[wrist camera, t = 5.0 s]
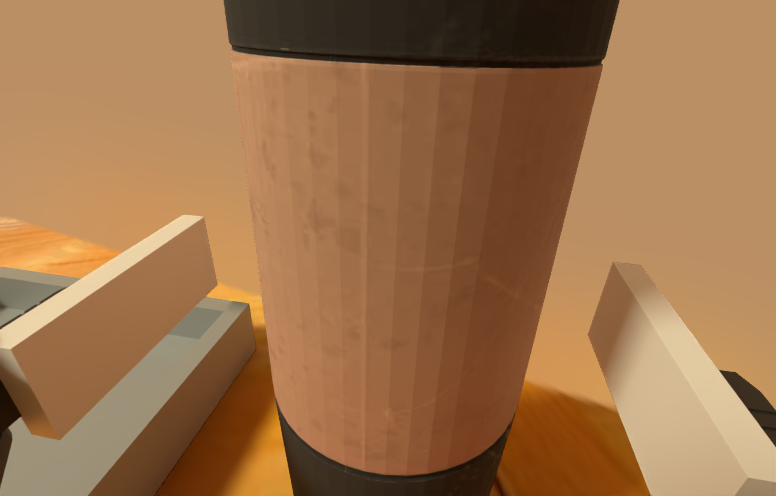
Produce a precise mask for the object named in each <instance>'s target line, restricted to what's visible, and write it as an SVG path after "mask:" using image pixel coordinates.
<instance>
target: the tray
mask: <svg viewBox="0 0 776 496" xmlns="http://www.w3.org/2000/svg"><path fill="white" fill-rule="evenodd" d="M78 280H80V278H73V277H66V276H60V275H53V274H46V273H39V272H33V271H26V270H19V269H12V268H6V267H0V326H2V325H3V324H5V323H6V322H8V321H10V320H11V319H13V318H15V317H16V316H18V315H19V314H24V311H26V310H27V309H29V308H31V307H32V306H34V305H36V304H37V305H39V303H40V301H42V300H44V299H45V298H47V297H48V296H50V295H52V294H53V293H55V292H56V291H58V290H60V289H63V288H65V287H68V286H70V285H72V284H74V283H75V282H77V281H78ZM255 350H256V344H255V338H254V331H253V325H252V319H251V313H250V306H249V304H248V303H242V302H235V301H228V300H222V299H215V298H208V297H204V298H203V299H202V300H201V301H200V302H199V303H198V304H197V305H196V306H195V307H194V308H193V309H192V310H191V311H190V312H189V313H188V314H187V315H186V316H185V317H184V318H183V319H182V320H181V321H180V322H179V323H178V324H177V325H176V326H175V327H174V328H173V329H172V330H171V331H170V332H169V333H168V334H167V335H166V336H165V337H164V338H163V339H162V340H161V341H160V342H159V343H158V344H157V345H156V346H155V347H154V348H153V349H152V350H151V351H150V352H149V353H148V354H147V355H146V356H145V357H144V358H143V359H142V360H141V361H140V362H139V363H138V364H137V365H136V366H135V367H134V368H133V369H132V370H131V371H130V372H129V373H128V374H127V375H126V376H124V377H123V378H122V379H121V380H120V381H119V382H118V383H117V384H116V385H115V386H114V387H113V388H112V389H111V390H110V391H109V392H108V393H107V394H106V395H105V396H104V397H103V398H102V399H101V400H100V401H99V402H98V403H97V404H96V405H95V406H94V407H93V408H92V409H91V410H90V411H89V412H88V413H87V414H86V415H85V416H84V417H83V418H82V419H81V420H80V421H79V422H78V423H77V424H76V425H75V426H74V427H73V428H72V429H71V430H70V431H69V432H68V433H67V434H66V435H65V436H64V437H63V438H62V439H61V440H56V439H51V438H46V437H41V436H36V435H31V433H30V431H29V430H28V428H27V426H26V425H25V423H24V421H23V420H22V418H21V417H20V418H19V419H18V420H17V421H15V422H14V423H13V424H12V425H11V426H9V427H8V428H9V429H10V431H11V432H12V440H13V441H12V445H11V448H10V452H9V456H8V460H7V464H6V468H5V471H4V475H3V479H2V483H1V487H0V496H154V495H155V493H156V492H157V490H158V489H159V488H160V486H161V485H162V483H163V482H164V480H165V479H166V478H167V476H168V475H169V473H170V472H171V470H172V469H173V467H174V466H175V465H176V463H177V462H178V460H179V459H180V457H181V456H182V455H183V453H184V452H185V450H186V449H187V447H188V446H189V445H190V443H191V442H192V440H193V439H194V437H195V436H196V434H197V433H198V432H199V430H200V429H201V427H202V426H203V424H204V423H205V422H206V420H207V419H208V417H209V416H210V414H211V413H212V411H213V410H214V409H215V407H216V406H217V404H218V403H219V401H220V400H221V399H222V397H223V396H224V394H225V393H226V391H227V390H228V389H229V387H230V386H231V384H232V383H233V381H234V380H235V378H236V377H237V376H238V374H239V373H240V371H241V370H242V368H243V367H244V366H245V364H246V363H247V361H248V360H249V358H250V357H251V356H252V354H253V353H254V351H255Z"/></svg>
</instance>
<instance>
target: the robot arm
mask: <svg viewBox="0 0 776 496" xmlns="http://www.w3.org/2000/svg"><path fill="white" fill-rule="evenodd" d="M217 285H218V284H217V279H216V274H215V270H214V265H213V260H212V255H211V250H210V245H209V240H208V235H207V230H206V225H205V220H204V217H199V216H191V215H182V216H181V217H179V218H177V219H176V220H174V221H173V222H171V223H169V224H168V225H166V226H165V227H163V228H161V229H160V230H158V231H157V232H155V233H153V234H152V235H150V236H149V237H147V238H145V239H144V240H142V241H141V242H139V243H137V244H136V245H134V246H133V247H131V248H130V249H128V250H126V251H125V252H123V253H121V254H120V255H118V256H117V257H115V258H113V259H112V260H110V261H109V262H107V263H106V264H104V265H102V266H101V267H99V268H98V269H96V270H94V271H93V272H91V273H90V274H88V275H86V276H85V277H83V278H82V279H80V280H78V281H77V282H75V283H74V284H72V285H70V286H68V287H65V288H63V289H60V290H58V291H56V292H55V293H53V294H52V295H50V296H48V297H47V298H45V299H44V300H42V301H40V303H39V305H37V304H36V305H34V306H32V307H31V308H29V309H27V310H26V311H24V314H19V315H18V316H16V317H15V318H13V319H11V320H10V321H8V322H6V323H5V324H3V325H2V326H0V487H1V483H2V479H3V475H4V471H5V468H6V464H7V460H8V456H9V452H10V448H11V445H12V441H13V440H12V432H11V431H10V429H9V428H8V427H9V426H11V425H12V424H13V423H14V422H15V421H17V420H18V419H19V418H20V417H21V418H22V420H23V421H24V423H25V425H26V426H27V428H28V430H29V431H30V433H31V435H36V436H41V437H46V438H51V439H56V440H61V439H62V438H63V437H64V436H65V435H66V434H67V433H68V432H69V431H70V430H71V429H72V428H73V427H74V426H75V425H76V424H77V423H78V422H79V421H80V420H81V419H82V418H83V417H84V416H85V415H86V414H87V413H88V412H89V411H90V410H91V409H92V408H93V407H94V406H95V405H96V404H97V403H98V402H99V401H100V400H101V399H102V398H103V397H104V396H105V395H106V394H107V393H108V392H109V391H110V390H111V389H112V388H113V387H114V386H115V385H116V384H117V383H118V382H119V381H120V380H121V379H122V378H123V377H124V376H126V375H127V374H128V373H129V372H130V371H131V370H132V369H133V368H134V367H135V366H136V365H137V364H138V363H139V362H140V361H141V360H142V359H143V358H144V357H145V356H146V355H147V354H148V353H149V352H150V351H151V350H152V349H153V348H154V347H155V346H156V345H157V344H158V343H159V342H160V341H161V340H162V339H163V338H164V337H165V336H166V335H167V334H168V333H169V332H170V331H171V330H172V329H173V328H174V327H175V326H176V325H177V324H178V323H179V322H180V321H181V320H182V319H183V318H184V317H185V316H186V315H187V314H188V313H189V312H190V311H191V310H192V309H193V308H194V307H195V306H196V305H197V304H198V303H199V302H200V301H201V300H202V299H203V298H204V297H205V296H206V295H207V294H208V293H210V292H211V291H212V290H213V289H214V288H215V287H216V286H217ZM588 336H589V339H590V341H591V344H592V346H593V349H594V352H595V354H596V356H597V359H598V362H599V364H600V367H601V369H602V372H603V375H604V377H605V379H606V382H607V385H608V387H609V390H610V392H611V395H612V398H613V400H614V403H615V405H616V408H617V410H618V413H619V415H620V418H621V421H622V423H623V426H624V428H625V431H626V433H627V436H628V438H629V441H630V443H631V446H632V449H633V451H634V454H635V456H636V459H637V461H638V464H639V466H640V469H641V472H642V474H643V477H644V479H645V482H646V484H647V487H648V489H649V492H650V495H651V496H776V410H775V409H774V408H773V407H772V405H771V404H770V403H769V402H768V400H767V399H766V398H765V397H764V395H763V394H762V393H761V392H760V391H759V390H758V389H756V388H755V387H754V386H752V385H751V384H750V383H749V382H747V381H746V380H745V379H743V378H742V377H741V376H740V375H738V374H737V373H736V372H729V371H722V370H718V369H717V367H716V366H715V365H714V363H713V362H712V361H711V359H710V358H709V357H708V355H707V354H706V352H705V351H704V350H703V348H702V347H701V346H700V344H699V343H698V342H697V340H696V339H695V338H694V336H693V335H692V333H691V332H690V331H689V330H688V328H687V327H686V326H685V324H684V323H683V321H682V320H681V319H680V317H679V316H678V315H677V313H676V312H675V311H674V309H673V308H672V306H671V305H670V304H669V302H668V301H667V300H666V299H665V297H664V296H663V294H662V293H661V292H660V290H659V289H658V288H657V286H656V285H655V283H654V282H653V281H652V280H651V278H650V277H649V275H648V274H647V273H646V271H645V270H644V269H643V267H642V266H641V265H637V264H628V263H619V262H613V263H612V266H611V269H610V272H609V275H608V278H607V280H606V284H605V286H604V289H603V292H602V295H601V298H600V301H599V304H598V307H597V310H596V312H595V316H594V318H593V321H592V324H591V327H590V330H589V333H588Z"/></svg>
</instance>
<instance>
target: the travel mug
mask: <svg viewBox="0 0 776 496" xmlns="http://www.w3.org/2000/svg"><path fill="white" fill-rule="evenodd" d="M618 4H619V0H224V6H225V14H226V21H227V29H228V37H229V43H230V44H231V45H232V49H231V61H232V68H233V75H234V84H235V91H236V100H237V107H238V115H239V123H240V131H241V139H242V146H243V154H244V162H245V170H246V178H247V184H248V193H249V201H250V209H251V216H252V224H253V232H254V240H255V247H256V255H257V263H258V271H259V279H260V287H261V295H262V302H263V310H264V318H265V326H266V334H267V341H268V349H269V357H270V365H271V373H272V380H273V387H274V392H275V398H276V404H277V410H278V415H279V420H280V425H281V431H282V436H283V441H284V447H285V452H286V457H287V462H288V468H289V473H290V478H291V484H292V489H293V494H294V496H489V495H490V492H491V488H492V485H493V482H494V479H495V476H496V473H497V470H498V466H499V463H500V460H501V457H502V454H503V451H504V448H505V444H506V441H507V438H508V435H509V432H510V429H511V425H512V422H513V419H514V416H515V411H516V409H517V406H518V402H519V398H520V394H521V390H522V386H523V382H524V378H525V374H526V370H527V366H528V362H529V358H530V354H531V350H532V346H533V342H534V338H535V334H536V330H537V326H538V322H539V318H540V314H541V310H542V307H543V302H544V298H545V294H546V290H547V286H548V283H549V279H550V275H551V270H552V266H553V263H554V259H555V255H556V251H557V247H558V243H559V238H560V235H561V231H562V227H563V223H564V219H565V215H566V211H567V207H568V203H569V199H570V195H571V191H572V187H573V183H574V179H575V175H576V171H577V167H578V163H579V159H580V155H581V151H582V147H583V143H584V139H585V135H586V131H587V127H588V123H589V119H590V115H591V111H592V107H593V104H594V100H595V96H596V92H597V88H598V84H599V80H600V76H601V72H602V66H603V65H602V64H601V62H602V60H603V59H604V58H605V56H606V52H607V48H608V44H609V39H610V36H611V32H612V28H613V24H614V20H615V16H616V12H617V8H618Z"/></svg>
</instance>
